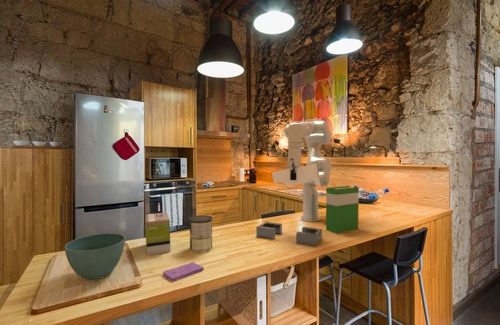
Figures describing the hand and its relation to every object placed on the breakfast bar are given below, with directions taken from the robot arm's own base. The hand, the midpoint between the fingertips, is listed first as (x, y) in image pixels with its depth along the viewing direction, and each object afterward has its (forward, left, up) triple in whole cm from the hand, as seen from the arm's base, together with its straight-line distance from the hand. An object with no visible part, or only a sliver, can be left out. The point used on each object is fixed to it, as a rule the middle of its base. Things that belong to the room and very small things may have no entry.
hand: (295, 179), depth 140 cm
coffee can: (+43, -30, -29) cm, 60 cm away
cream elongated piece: (0, +1, -4) cm, 4 cm away
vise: (+10, 0, -29) cm, 31 cm away
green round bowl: (+81, -46, -29) cm, 98 cm away
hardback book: (-18, +22, -29) cm, 41 cm away
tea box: (+52, -48, -30) cm, 77 cm away
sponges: (+65, -20, -30) cm, 74 cm away
